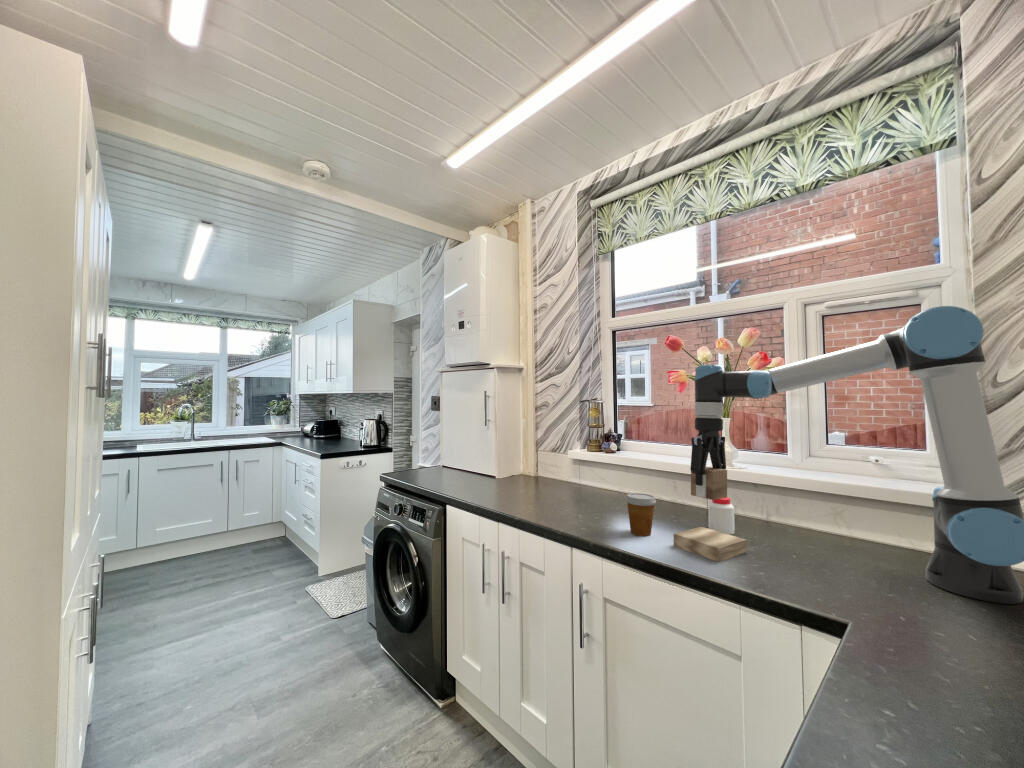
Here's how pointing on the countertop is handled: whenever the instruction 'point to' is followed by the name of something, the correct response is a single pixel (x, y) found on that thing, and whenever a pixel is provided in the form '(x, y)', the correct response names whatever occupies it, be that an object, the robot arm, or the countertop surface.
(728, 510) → the pill bottle
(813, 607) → the countertop surface
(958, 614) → the countertop surface
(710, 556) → the oak block
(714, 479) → the walnut block
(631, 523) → the disposable coffee cup
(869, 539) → the countertop surface
